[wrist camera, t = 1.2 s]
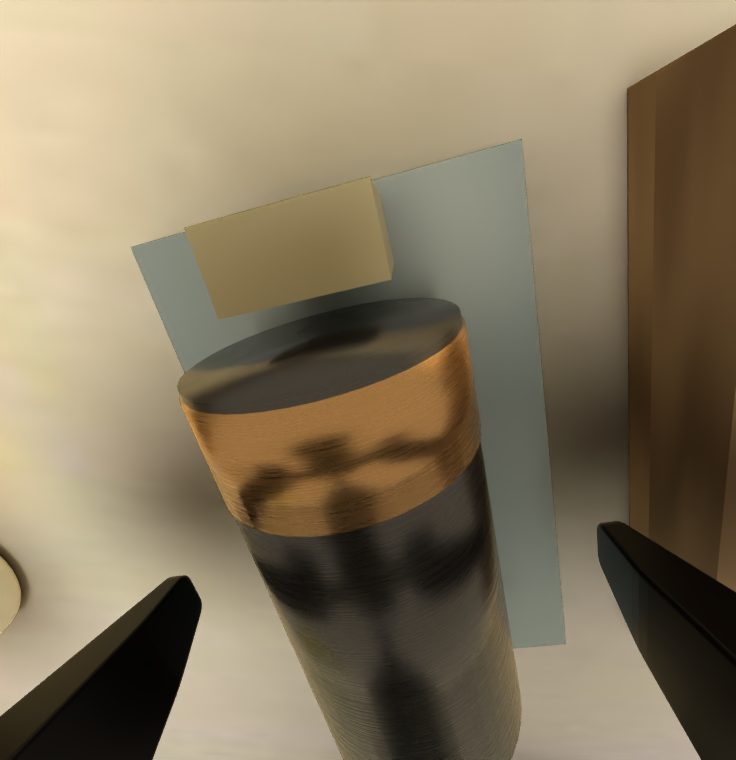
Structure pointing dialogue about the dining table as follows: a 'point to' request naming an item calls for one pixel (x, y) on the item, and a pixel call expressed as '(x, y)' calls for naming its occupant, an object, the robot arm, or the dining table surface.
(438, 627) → the battery cell
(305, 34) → the dining table surface
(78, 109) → the dining table surface
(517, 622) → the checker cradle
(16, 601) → the drinking glass
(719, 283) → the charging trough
